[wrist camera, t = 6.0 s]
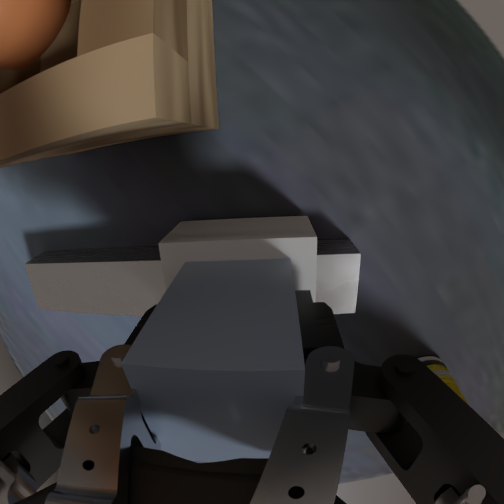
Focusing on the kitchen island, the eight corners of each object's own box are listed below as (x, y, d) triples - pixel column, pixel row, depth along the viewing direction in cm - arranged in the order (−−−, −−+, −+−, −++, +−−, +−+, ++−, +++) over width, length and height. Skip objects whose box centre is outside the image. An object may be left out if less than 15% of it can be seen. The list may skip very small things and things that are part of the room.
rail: (349, 238, 15) (360, 253, 13) (346, 293, 16) (355, 312, 14) (43, 252, 16) (24, 264, 14) (55, 294, 17) (39, 309, 15)
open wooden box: (211, -16, 10) (164, -113, 3) (219, 129, 13) (156, 117, 6) (74, 23, 11) (-24, -12, 3) (75, 153, 14) (-42, 178, 6)
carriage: (307, 215, 14) (358, 334, 5) (306, 319, 16) (327, 472, 7) (180, 221, 14) (75, 330, 6) (195, 320, 16) (142, 463, 8)
